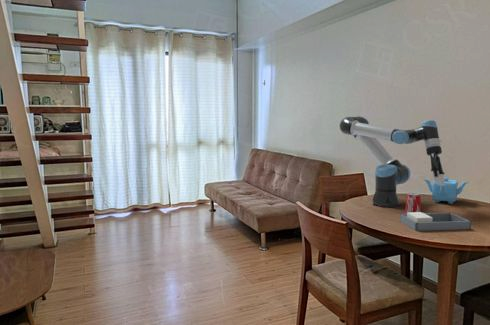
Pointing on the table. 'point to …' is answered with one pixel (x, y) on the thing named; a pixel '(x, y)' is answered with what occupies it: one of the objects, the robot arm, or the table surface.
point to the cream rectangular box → (419, 217)
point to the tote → (438, 222)
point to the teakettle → (445, 190)
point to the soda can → (413, 202)
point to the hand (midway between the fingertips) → (440, 184)
